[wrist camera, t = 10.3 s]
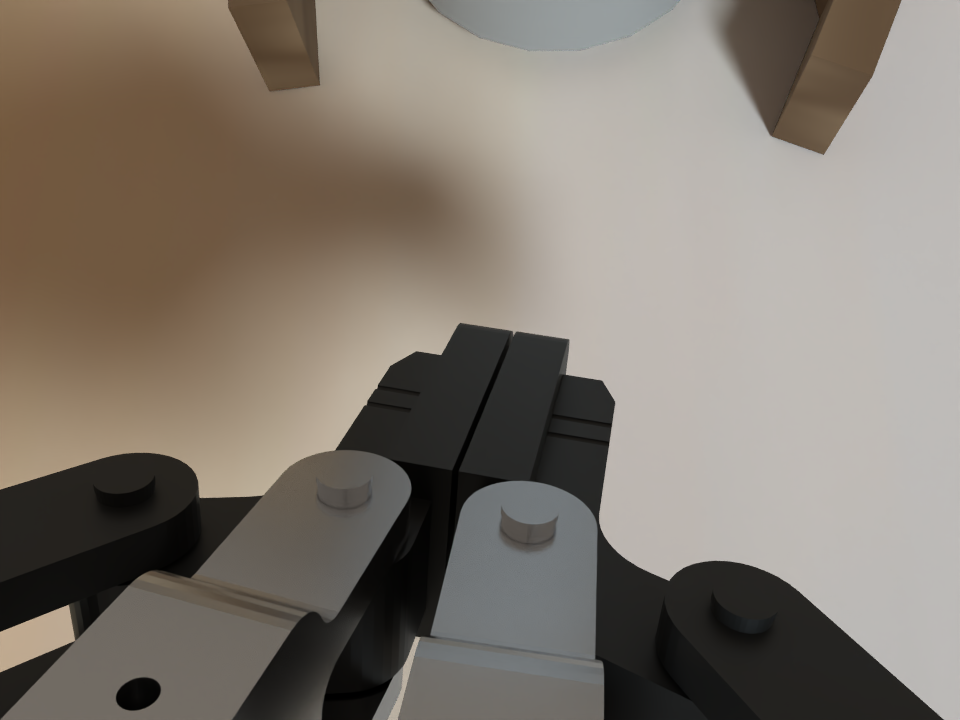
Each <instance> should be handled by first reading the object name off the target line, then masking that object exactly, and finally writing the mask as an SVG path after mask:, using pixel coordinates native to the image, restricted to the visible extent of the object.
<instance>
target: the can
mask: <svg viewBox="0 0 960 720" xmlns="http://www.w3.org/2000/svg"><path fill="white" fill-rule="evenodd" d="M429 1H430V2H431V3H432V5H433V6H434V7H435V8H436V9H437V11H438V12H439V13H441V14H442V15H444V16H445V17H447V18H449V19H450V20H452V21H453V22H455V23H457V24H458V25H460V26H461V27H463V28H465V29H466V30H468V31H469V32H471V33H473V34H474V35H476V36H477V37H479V38H482V39H486V40H490V41H493V42H497V43H501V44H504V45H508V46H512V47H515V48H519V49H523V50H527V51H578V50H584V49H588V48H591V47H595V46H598V45H602V44H605V43H608V42H612V41H615V40H619V39H622V38H626V37H629V36H632V35H633V34H635V33H636V32H638V31H640V30H641V29H643V28H644V27H646V26H647V25H649V24H650V23H652V22H654V21H655V20H657V19H658V18H660V17H661V16H663V15H665V14H666V13H668V12H669V11H671V10H672V9H673V8H674V7H675V6H676V5H677V3H678V2H679V1H680V0H429Z"/></svg>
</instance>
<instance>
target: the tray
mask: <svg viewBox="0 0 960 720" xmlns="http://www.w3.org/2000/svg"><path fill="white" fill-rule="evenodd" d="M815 3H816V7H817V11H818V15H819V22H818V24H817V26H816V29H815V31H814V34H813V36H812V39H811V41H810V44H809V46H808V49H807V51H806V53H805V56H804V58H803V61H802V63H801V66H800V68H799V71H798V73H797V76H796V78H795V80H794V83H793V85H792V88H791V90H790V93H789V95H788V98H787V100H786V103H785V105H784V107H783V110H782V112H781V115H780V117H779V120H778V122H777V125H776V127H775V130H774V132H773V134H772V137H775V138H778V139H781V140H784V141H787V142H789V143H792V144H795V145H798V146H801V147H804V148H806V149H809V150H812V151H815V152H818V153H821V154H823V155H824V153H825V152H826V150H827V149H828V147H829V145H830V144H831V142H832V140H833V139H834V137H835V136H836V134H837V132H838V131H839V129H840V128H841V126H842V124H843V123H844V121H845V119H846V118H847V116H848V115H849V113H850V111H851V110H852V108H853V107H854V105H855V103H856V102H857V100H858V98H859V97H860V95H861V94H862V92H863V90H864V89H865V87H866V86H867V84H868V82H869V81H870V79H871V77H872V76H873V73H874V71H875V68H876V65H877V63H878V60H879V58H880V55H881V52H882V50H883V47H884V44H885V42H886V39H887V37H888V34H889V31H890V29H891V26H892V24H893V21H894V18H895V16H896V13H897V11H898V8H899V5H900V3H901V0H815ZM228 8H229V10H230V12H231V14H232V16H233V18H234V20H235V22H236V24H237V26H238V28H239V30H240V32H241V34H242V36H243V38H244V40H245V42H246V44H247V46H248V48H249V50H250V52H251V54H252V56H253V58H254V61H255V63H256V65H257V67H258V69H259V71H260V73H261V75H262V77H263V79H264V81H265V83H266V85H267V87H268V89H269V91H274V90H283V89H291V88H299V87H308V86H316V85H320V81H319V63H318V44H317V26H316V8H315V0H228Z"/></svg>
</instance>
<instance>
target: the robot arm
mask: <svg viewBox="0 0 960 720" xmlns="http://www.w3.org/2000/svg"><path fill="white" fill-rule="evenodd" d="M568 352H569V339H562V338H556V337H549V336H543V335H536V334H529V333H523V332H516V333H515V335H514V337H513V331H509V330H502V329H496V328H489V327H483V326H476V325H470V324H463V323H460V324H459V325H458V326H457V328H456V330H455V332H454V333H453V335H452V337H451V339H450V341H449V342H448V344H447V346H446V348H445V350H444V351H443V353H442V355H436V354H430V353H424V352H417V351H416V352H414V353H413V354H411V355H409V356H407V357H406V358H404V359H402V360H400V361H398V362H397V363H395V364H393V365H391V366H390V368H389V369H388V371H387V372H386V374H385V375H384V377H383V378H382V380H381V381H380V383H379V384H378V388H377V389H375V390H374V392H373V394H372V395H371V397H370V398H369V400H368V401H367V406H366V405H365V406H364V407H363V409H362V410H361V412H360V413H359V415H358V416H357V418H356V419H355V421H354V422H353V424H352V426H351V427H350V429H349V430H348V432H347V433H346V435H345V436H344V438H343V439H342V441H341V442H340V444H339V445H338V447H337V448H336V450H335V451H328V452H323V453H319V454H315V455H312V456H309V457H306V458H304V459H302V460H300V461H298V462H296V463H295V464H293V465H292V466H290V467H289V468H288V469H287V470H286V471H285V472H284V473H283V474H282V475H281V476H280V477H279V478H278V480H277V481H276V482H275V483H274V484H273V485H272V486H271V488H270V489H269V490H268V491H267V492H266V493H265V494H264V495H263V496H253V497H227V498H199V487H198V480H197V477H196V474H195V473H194V471H193V470H192V469H191V468H190V467H189V466H188V465H187V464H185V463H183V462H182V461H180V460H178V459H175V458H172V457H169V456H165V455H160V454H152V453H129V454H121V455H115V456H110V457H106V458H102V459H99V460H96V461H92V462H89V463H86V464H83V465H79V466H76V467H73V468H70V469H66V470H63V471H60V472H57V473H53V474H50V475H47V476H44V477H40V478H37V479H34V480H31V481H27V482H24V483H21V484H18V485H14V486H11V487H8V488H5V489H1V490H0V632H1V631H3V630H6V629H8V628H11V627H13V626H16V625H18V624H21V623H23V622H26V621H28V620H31V619H33V618H36V617H39V616H41V615H44V614H46V613H49V612H51V611H54V610H56V609H59V608H61V607H64V606H66V605H69V608H70V613H71V619H72V625H73V630H74V636H75V641H74V642H72V643H69V644H67V645H65V646H62V647H60V648H57V649H55V650H53V651H50V652H48V653H45V654H43V655H41V656H38V657H36V658H34V659H31V660H29V661H26V662H24V663H22V664H19V665H17V666H15V667H12V668H10V669H7V670H5V671H3V672H0V720H388V718H389V715H390V713H391V711H392V709H393V707H394V705H395V703H396V701H397V698H398V696H399V694H400V691H401V688H402V679H403V665H404V664H405V662H406V660H407V658H408V655H409V652H410V650H411V647H412V644H413V642H414V639H415V636H417V637H421V638H420V640H419V643H418V646H417V649H416V652H415V656H414V660H413V663H412V667H411V671H410V675H409V679H408V683H407V687H406V690H405V694H404V698H403V702H402V706H401V710H400V713H399V717H398V720H943V719H942V718H941V717H940V716H939V715H938V714H937V713H935V712H934V711H933V710H932V709H931V708H930V707H929V706H928V705H926V704H925V703H924V702H923V701H922V700H921V699H920V698H919V697H917V696H916V695H915V694H914V693H913V692H912V691H911V690H909V689H908V688H907V687H906V686H905V685H904V684H903V683H902V682H900V681H899V680H898V679H897V678H896V677H895V676H894V675H893V674H891V673H890V672H889V671H888V670H887V669H886V668H885V667H883V666H882V665H881V664H880V663H879V662H878V661H877V660H876V659H874V658H873V657H872V656H871V655H870V654H869V653H868V652H867V651H865V650H864V649H863V648H862V647H861V646H860V645H859V644H857V643H856V642H855V641H854V640H853V639H852V638H851V637H850V636H848V635H847V634H846V633H845V632H844V631H843V630H842V629H841V628H839V627H838V626H837V625H836V624H835V623H834V622H833V621H831V620H830V619H829V618H828V617H827V616H826V615H825V614H824V613H822V612H821V611H820V610H819V609H818V608H817V607H816V606H814V605H813V604H812V603H811V602H810V601H809V600H808V599H807V598H805V597H804V596H803V595H802V594H801V593H800V592H799V591H797V590H796V589H795V588H794V587H792V586H791V585H790V584H788V583H787V582H785V581H783V580H782V579H780V578H779V577H777V576H775V575H773V574H770V573H768V572H766V571H764V570H761V569H758V568H756V567H753V566H749V565H745V564H741V563H735V562H729V561H708V562H701V563H696V564H693V565H690V566H688V567H685V568H683V569H682V570H680V571H679V572H677V573H676V574H675V575H674V576H673V577H672V578H671V579H670V581H668V580H666V579H663V578H661V577H659V576H656V575H654V574H651V573H649V572H647V571H645V570H643V569H641V568H639V567H637V566H636V565H634V564H632V563H631V562H629V561H627V560H626V559H625V558H624V557H622V556H621V555H620V554H619V553H617V552H616V550H615V549H614V548H613V547H612V546H611V545H610V544H609V543H608V541H607V540H606V538H605V537H604V535H603V533H602V531H601V528H600V524H599V511H600V504H601V497H602V490H603V483H604V476H605V469H606V462H607V455H608V448H609V442H610V435H611V427H612V421H613V414H614V407H615V401H614V399H613V398H612V396H611V394H610V393H609V391H608V390H607V388H606V386H605V385H604V383H603V381H601V380H594V379H588V378H582V377H576V376H569V375H566V368H567V360H568Z"/></svg>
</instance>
